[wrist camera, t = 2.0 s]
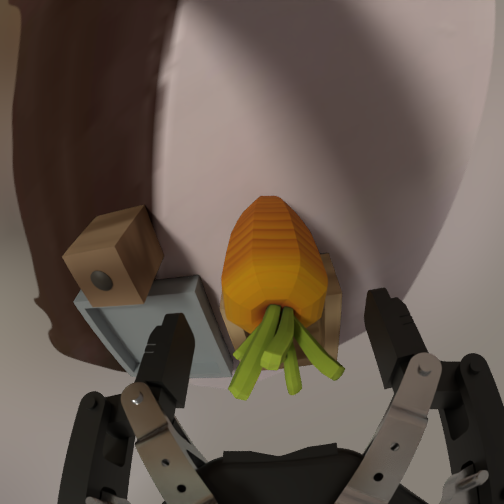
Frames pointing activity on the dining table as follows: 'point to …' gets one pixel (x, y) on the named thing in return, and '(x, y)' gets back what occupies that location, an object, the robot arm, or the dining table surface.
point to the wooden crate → (321, 330)
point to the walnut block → (116, 258)
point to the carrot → (274, 294)
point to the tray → (152, 314)
